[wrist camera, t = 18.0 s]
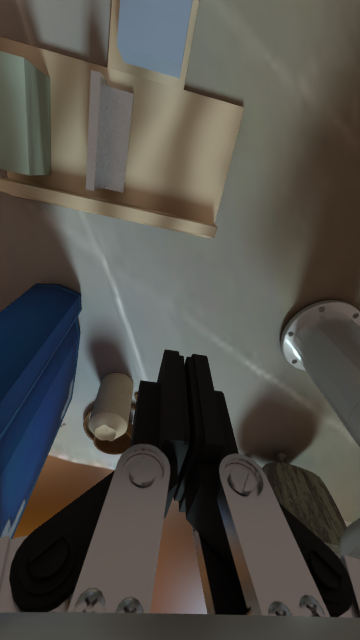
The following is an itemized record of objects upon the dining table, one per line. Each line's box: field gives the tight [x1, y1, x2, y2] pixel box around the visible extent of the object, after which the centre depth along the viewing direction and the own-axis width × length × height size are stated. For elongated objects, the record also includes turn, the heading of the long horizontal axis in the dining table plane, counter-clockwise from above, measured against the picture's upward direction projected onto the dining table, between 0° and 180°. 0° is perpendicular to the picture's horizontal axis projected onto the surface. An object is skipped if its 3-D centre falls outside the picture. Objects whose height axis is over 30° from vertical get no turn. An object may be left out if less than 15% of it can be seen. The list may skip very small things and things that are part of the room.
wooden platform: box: [0, 0, 245, 238], centre depth 25 cm, size 24×24×6 cm
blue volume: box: [0, 283, 82, 539], centre depth 30 cm, size 22×7×25 cm, turn 164°
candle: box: [88, 373, 133, 441], centre depth 42 cm, size 6×6×10 cm
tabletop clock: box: [262, 452, 347, 557], centre depth 47 cm, size 14×9×25 cm, turn 62°
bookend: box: [86, 70, 134, 193], centre depth 27 cm, size 3×9×5 cm, turn 168°
